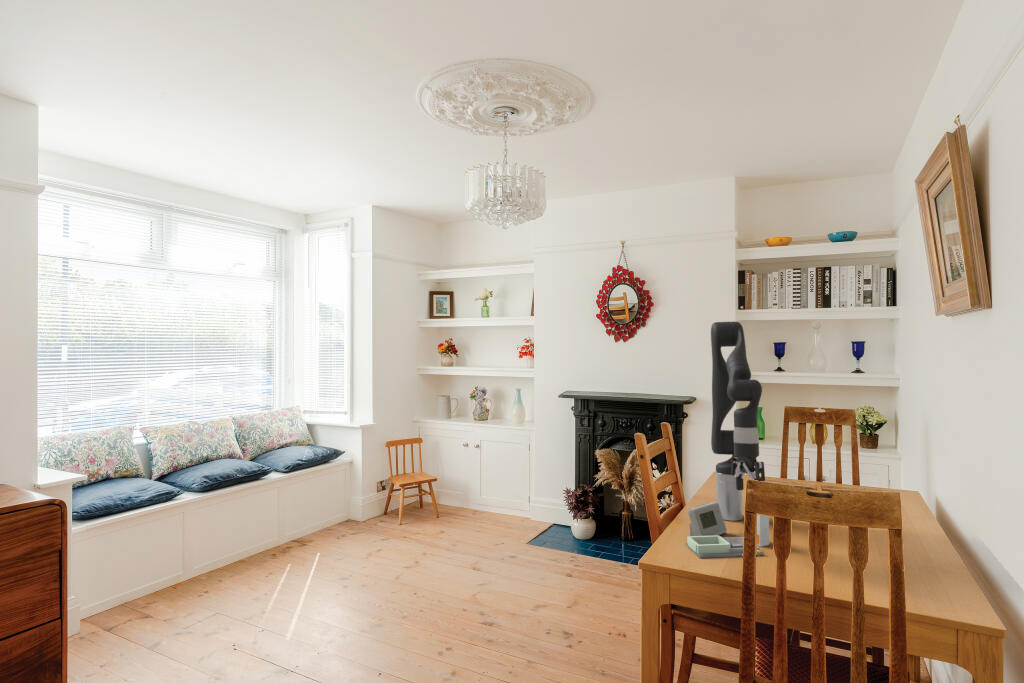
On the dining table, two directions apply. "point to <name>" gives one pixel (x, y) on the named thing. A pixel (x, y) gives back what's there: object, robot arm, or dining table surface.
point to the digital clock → (706, 520)
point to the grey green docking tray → (714, 547)
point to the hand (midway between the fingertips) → (748, 492)
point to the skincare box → (762, 530)
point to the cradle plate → (734, 541)
